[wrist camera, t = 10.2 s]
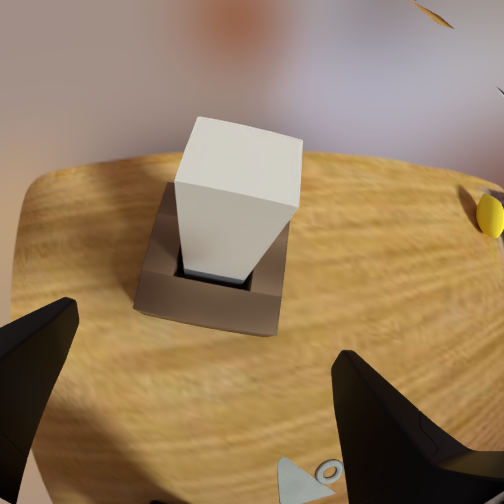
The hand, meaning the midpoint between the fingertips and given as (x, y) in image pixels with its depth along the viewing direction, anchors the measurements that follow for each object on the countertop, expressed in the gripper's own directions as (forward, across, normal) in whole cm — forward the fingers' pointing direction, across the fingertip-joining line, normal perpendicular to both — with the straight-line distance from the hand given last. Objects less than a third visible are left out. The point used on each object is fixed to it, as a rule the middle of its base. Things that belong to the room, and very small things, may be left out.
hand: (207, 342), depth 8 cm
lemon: (+23, -38, -6) cm, 45 cm away
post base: (+13, 0, +5) cm, 14 cm away
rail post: (+13, 0, +5) cm, 14 cm away
